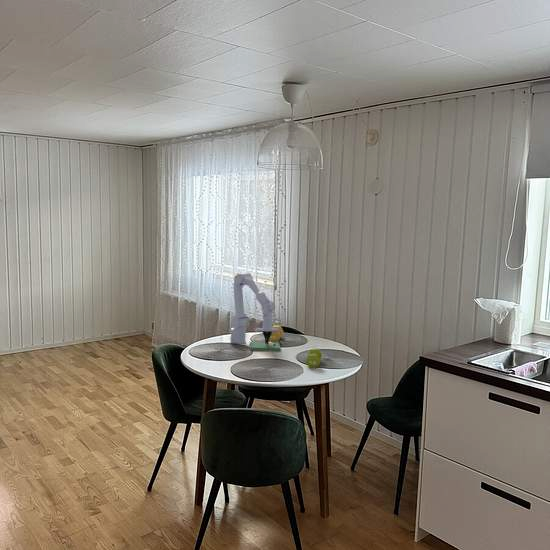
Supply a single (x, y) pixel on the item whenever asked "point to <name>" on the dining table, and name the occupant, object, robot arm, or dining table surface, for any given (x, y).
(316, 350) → the green grapes
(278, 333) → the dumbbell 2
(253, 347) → the putting deck
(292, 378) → the dining table surface
